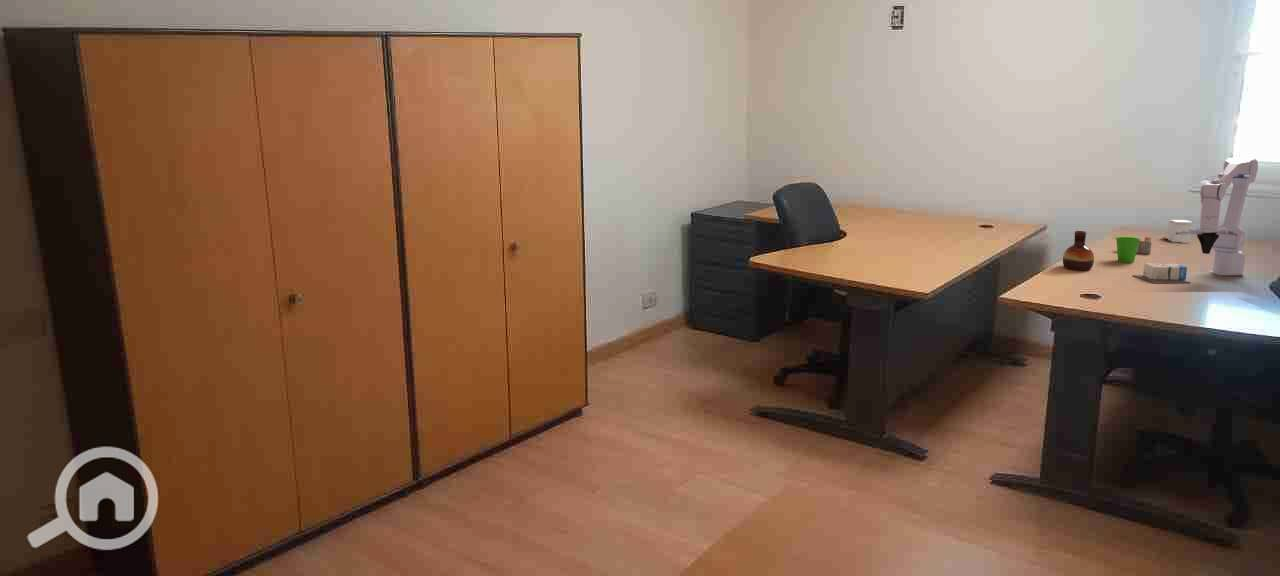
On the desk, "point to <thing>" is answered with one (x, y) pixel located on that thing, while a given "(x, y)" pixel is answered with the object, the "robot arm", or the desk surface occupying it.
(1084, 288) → the desk surface
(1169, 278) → the ink box
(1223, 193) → the robot arm
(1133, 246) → the cup
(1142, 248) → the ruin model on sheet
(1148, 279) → the mat
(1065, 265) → the vase
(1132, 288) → the desk surface
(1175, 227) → the supplement box
